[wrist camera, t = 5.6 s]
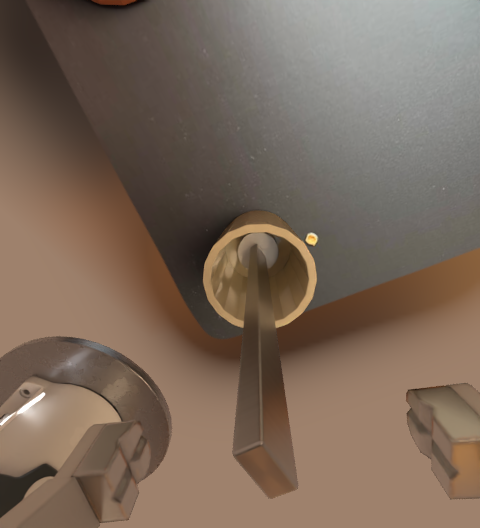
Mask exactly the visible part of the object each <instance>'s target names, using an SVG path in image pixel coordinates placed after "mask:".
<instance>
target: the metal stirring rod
mask: <svg viewBox="0 0 480 528" xmlns="http://www.w3.org/2000/svg"><path fill="white" fill-rule="evenodd" d="M237 253H238V258H239V261H240V262H241V264H242V265H243V266H244V267H245V268H247V269H248V280H247V292H246V303H245V315H244V326H243V339H242V349H241V361H240V373H239V384H238V396H237V407H236V418H235V430H234V442H233V456H234V458H235V459H236V460H237V461H238V462H239V464H240V465H241V466H242V467H243V468H244V470H245V471H246V472H247V473H248V474H249V476H250V477H251V478H252V479H253V480H254V482H255V483H256V484H257V485H258V486H259V488H260V489H261V490H262V491H263V492H264V493H265V495H266V496H267V497H268V498H270V499H273V498H275V497H278V496H281V495H284V494H286V493H289V492H291V491H294V490H296V489H298V481H297V475H296V467H295V460H294V453H293V446H292V439H291V432H290V425H289V418H288V411H287V404H286V397H285V390H284V383H283V375H282V369H281V361H280V355H279V348H278V340H277V334H276V326H275V319H274V312H273V305H272V298H271V291H270V284H269V277H268V269H269V268H271V267H272V266H273V265H274V264H275V262H276V261H277V258H278V255H279V249H278V245H277V242H276V240H275V238H274V237H273V236H272V235H271V234H270V233H267V232H264V233H248V234H245V235H244V236H243V237H242V238H241V240H240V242H239V246H238V252H237Z"/></svg>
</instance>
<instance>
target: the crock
mask: <svg viewBox="0 0 480 528" xmlns="http://www.w3.org/2000/svg"><path fill="white" fill-rule="evenodd" d="M264 232H267V233H270V234H271V235H272V236H273V237H274V238H275V240H276V242H277V245H278V249H279V255H278V258H277V261H276V262H275V264H274V265H273V266H272V267H271V268H269V269H268V277H269V284H270V291H271V298H272V305H273V312H274V319H275V326H276V328H277V327H280V326H283V325H286V324H288V323H290V322H291V321H292V320H294V319H295V318H296V317H298V316H299V315H301V314H302V313H303V312H304V310H305V309H306V307H307V305H308V304H309V302H310V301H311V299H312V298H313V295H314V290H315V286H316V281H317V275H316V269H315V262H314V259H313V257H312V255H311V254H310V252H309V250H308V249H307V247H306V245H305V244H304V242H303V241H302V240H301V239H300V238H299V237H298V235H297V234H296V233H295V232H294V231H293V230H292V228H291V227H290V226H289V225H288V224H287V223H286V222H285V221H284V220H283V219H281V218H280V217H279V216H277V215H275V214H273V213H271V212H267V211H258V210H256V211H250V212H246V213H244V214H241V215H240V216H238V217H236V218H235V219H234V220H233V221H232V222H231V223H230V224H229V225H228V226H227V227H226V229H225V230H224V232H223V233H222V234H221V236H220V237H219V239H218V240H217V241H216V243H215V244H214V246H213V247H212V249H211V251H210V253H209V255H208V257H207V259H206V261H205V264H204V273H203V285H204V288H205V292H206V295H207V299H208V301H209V302H210V303H211V305H212V306H213V307H214V309H215V310H216V312H217V313H218V314H219V315H220V316H222V317H223V318H224V319H226V320H227V321H229V322H230V323H232V324H233V325H236V326H239V327H242V328H243V326H244V315H245V303H246V292H247V280H248V269H247V268H245V267H244V266H243V265H242V264H241V262H240V261H239V258H238V253H237V252H238V246H239V242H240V240H241V238H242V237H243V236H244V235H245V234H248V233H264Z"/></svg>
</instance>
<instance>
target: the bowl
mask: <svg viewBox="0 0 480 528" xmlns="http://www.w3.org/2000/svg"><path fill="white" fill-rule="evenodd" d="M91 1H94V2H96V3H98V4H102V5H127V4H129V3H132V2H134V1H137V0H91Z"/></svg>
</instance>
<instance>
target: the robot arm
mask: <svg viewBox="0 0 480 528" xmlns="http://www.w3.org/2000/svg"><path fill="white" fill-rule="evenodd" d="M406 401H407V403H408V404H409V405H410V407H411V409H410V410H409V411H408V412H407V423H408V427H409V430H410V433H411V436H412V438H413V440H414V442H415V444H416V445H417V447H418V449H419V450H420V452H421V453H423V454H424V455H426V456H427V457H428V458H430V459H431V461H432V463H431V464H432V471H433V473H434V474H435V476H436V478H437V479H438V481H439V482H440V484H441V486H442V487H443V488H444V490H445V492H446V494H447V495H448V497H449V498H450V499H475V498H480V393H479V392H478V391H477V390H476V389H475V388H474V387H473V386H472V385H469V384H467V383H461V384H453V385H446V386H436V387H429V388H420V389H411V390H408V392H407V393H406ZM142 432H143V426H142V424H141V422H140V421H125V422H122V421H121V419H120V417H119V415H118V413H117V412H116V410H115V409H114V408H113V407H112V406H111V405H110V403H108V402H107V401H106V400H105V399H104V398H102V397H101V396H100V395H98V394H96V393H95V392H93V391H91V390H88V389H86V388H83V387H80V386H76V385H71V384H60V383H52V382H50V381H47V380H45V379H42V378H39V377H35V376H31V377H29V378H27V379H26V381H25V382H24V383H23V384H22V385H21V386H20V387H19V388H18V389H17V390H16V391H15V392H14V393H13V394H12V395H11V396H10V397H9V398H8V399H7V400H6V402H5V403H4V404H3V405H2V406H1V407H0V528H98V527H99V526H100V524H99V523H105V522H114V521H124V520H129V518H130V515H131V512H132V510H133V507H134V504H135V502H136V499H137V497H138V494H139V489H138V483H139V482H140V481H141V480H142V479H143V478H144V477H145V476H146V473H147V470H148V468H149V464H150V457H151V449H150V444H149V441H148V439H146V438H145V437H144V436H142V435H141V434H142Z"/></svg>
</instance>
